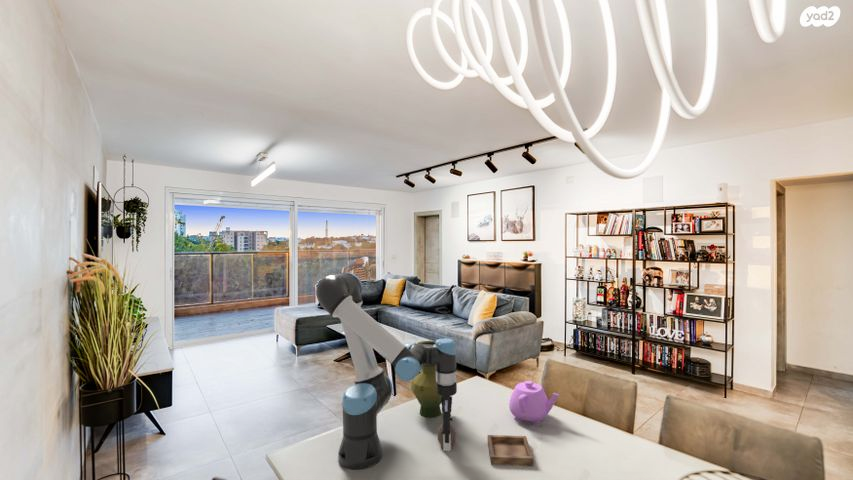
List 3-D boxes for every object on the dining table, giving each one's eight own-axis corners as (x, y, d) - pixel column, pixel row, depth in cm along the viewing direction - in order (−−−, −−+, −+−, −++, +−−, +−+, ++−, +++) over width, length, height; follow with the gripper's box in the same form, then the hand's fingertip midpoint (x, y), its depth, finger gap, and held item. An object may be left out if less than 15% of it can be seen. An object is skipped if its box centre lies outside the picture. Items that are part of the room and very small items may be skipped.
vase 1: (454, 409, 167) (453, 341, 167) (439, 425, 153) (438, 351, 153) (422, 402, 174) (421, 337, 174) (404, 417, 160) (403, 346, 160)
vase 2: (455, 451, 134) (454, 426, 134) (436, 449, 135) (435, 425, 135) (457, 441, 141) (457, 417, 141) (439, 439, 142) (439, 416, 142)
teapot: (551, 437, 142) (551, 397, 142) (501, 424, 153) (501, 387, 153) (563, 416, 159) (562, 380, 159) (516, 405, 170) (516, 372, 170)
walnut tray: (490, 464, 126) (490, 456, 126) (487, 441, 140) (487, 434, 140) (533, 466, 125) (533, 458, 125) (526, 443, 139) (525, 436, 139)
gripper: (456, 393, 128) (457, 460, 128) (456, 372, 148) (457, 431, 148) (434, 392, 128) (435, 460, 128) (437, 372, 148) (438, 430, 148)
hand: (447, 444), depth 138 cm, fingers open, 7 cm apart
